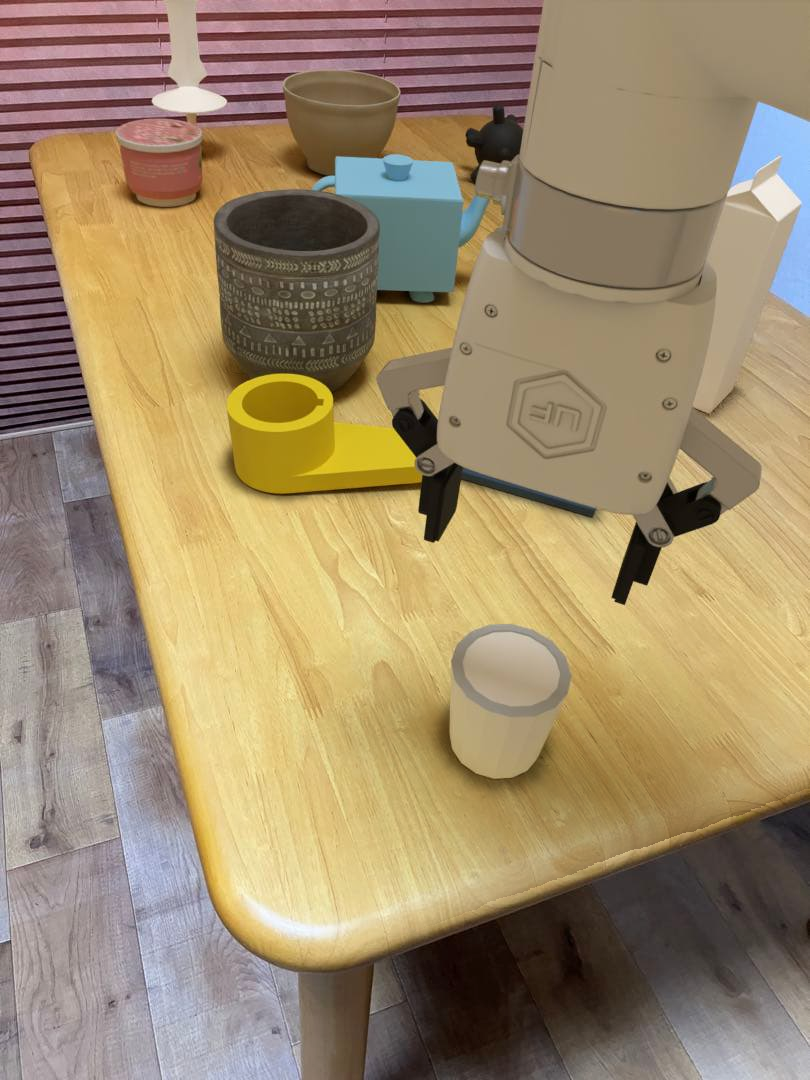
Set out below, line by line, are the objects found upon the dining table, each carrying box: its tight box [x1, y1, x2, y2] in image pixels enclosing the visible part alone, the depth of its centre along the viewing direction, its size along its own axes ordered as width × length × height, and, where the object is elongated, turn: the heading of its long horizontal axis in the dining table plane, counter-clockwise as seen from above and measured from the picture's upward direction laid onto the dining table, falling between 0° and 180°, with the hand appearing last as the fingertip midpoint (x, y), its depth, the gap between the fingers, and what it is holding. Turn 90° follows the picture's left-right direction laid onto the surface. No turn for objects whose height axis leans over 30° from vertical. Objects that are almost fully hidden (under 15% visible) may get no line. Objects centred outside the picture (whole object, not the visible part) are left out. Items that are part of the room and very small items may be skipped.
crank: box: [226, 374, 422, 495], centre depth 71 cm, size 18×8×6 cm, turn 90°
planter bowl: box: [282, 69, 401, 177], centre depth 123 cm, size 16×16×11 cm
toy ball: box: [465, 103, 524, 183], centre depth 124 cm, size 11×11×12 cm
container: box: [115, 118, 203, 208], centre depth 112 cm, size 10×10×8 cm
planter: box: [213, 188, 380, 393], centre depth 79 cm, size 14×14×15 cm
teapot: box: [310, 153, 492, 303], centre depth 96 cm, size 22×11×14 cm, turn 93°
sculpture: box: [151, 0, 228, 127], centre depth 116 cm, size 10×10×30 cm
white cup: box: [449, 623, 572, 780], centre depth 52 cm, size 7×7×7 cm
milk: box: [692, 155, 803, 415], centre depth 79 cm, size 6×6×22 cm
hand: (529, 554), depth 44 cm, fingers open, 9 cm apart
